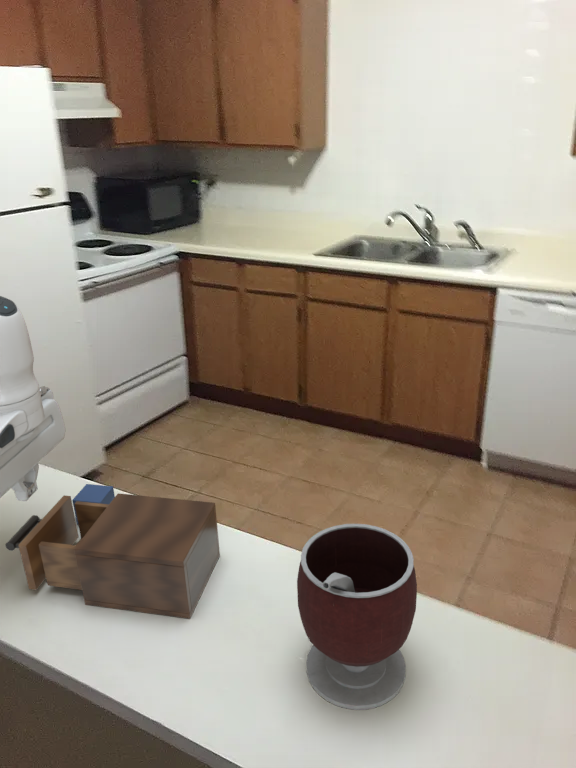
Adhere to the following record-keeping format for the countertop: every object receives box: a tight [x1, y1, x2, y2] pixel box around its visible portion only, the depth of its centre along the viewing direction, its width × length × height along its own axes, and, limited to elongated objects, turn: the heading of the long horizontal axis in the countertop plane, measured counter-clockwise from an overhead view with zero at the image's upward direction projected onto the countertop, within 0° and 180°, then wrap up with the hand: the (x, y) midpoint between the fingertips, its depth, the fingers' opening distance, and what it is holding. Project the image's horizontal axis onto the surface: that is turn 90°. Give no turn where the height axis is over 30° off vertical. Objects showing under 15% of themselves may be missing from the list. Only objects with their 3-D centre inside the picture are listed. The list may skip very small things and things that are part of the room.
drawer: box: [4, 494, 109, 591], centre depth 100 cm, size 19×13×8 cm, turn 78°
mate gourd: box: [296, 523, 418, 711], centre depth 78 cm, size 16×14×20 cm
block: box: [71, 483, 116, 526], centre depth 113 cm, size 5×5×5 cm
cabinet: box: [74, 493, 221, 620], centre depth 98 cm, size 16×14×10 cm
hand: (27, 495), depth 98 cm, fingers closed
